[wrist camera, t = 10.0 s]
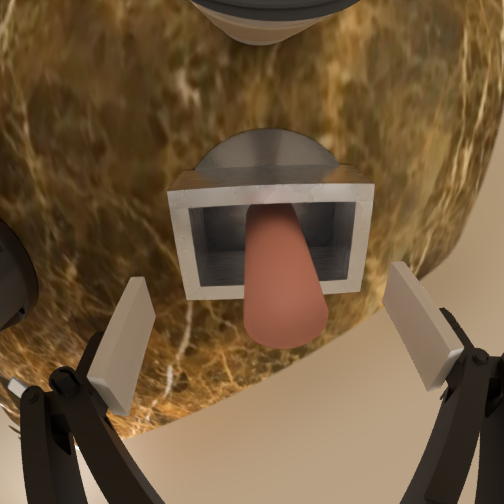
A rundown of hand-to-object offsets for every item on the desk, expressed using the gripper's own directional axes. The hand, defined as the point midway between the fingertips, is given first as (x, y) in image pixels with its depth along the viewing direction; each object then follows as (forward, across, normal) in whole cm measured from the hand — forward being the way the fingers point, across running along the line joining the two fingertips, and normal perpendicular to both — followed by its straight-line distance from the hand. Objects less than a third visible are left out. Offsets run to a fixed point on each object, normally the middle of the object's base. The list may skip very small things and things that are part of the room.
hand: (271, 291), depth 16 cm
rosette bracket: (+11, +1, 0) cm, 11 cm away
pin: (+10, +1, 0) cm, 10 cm away
